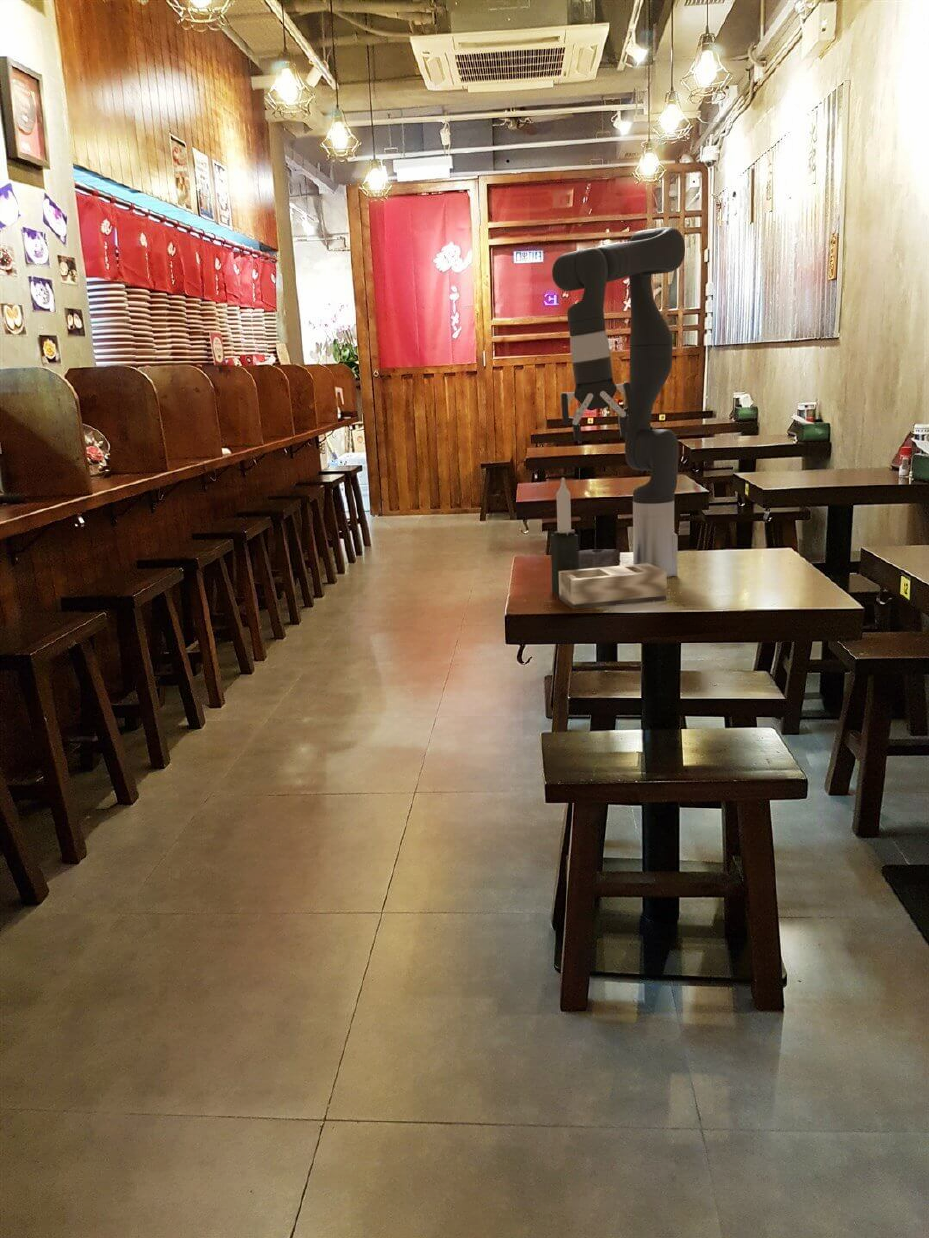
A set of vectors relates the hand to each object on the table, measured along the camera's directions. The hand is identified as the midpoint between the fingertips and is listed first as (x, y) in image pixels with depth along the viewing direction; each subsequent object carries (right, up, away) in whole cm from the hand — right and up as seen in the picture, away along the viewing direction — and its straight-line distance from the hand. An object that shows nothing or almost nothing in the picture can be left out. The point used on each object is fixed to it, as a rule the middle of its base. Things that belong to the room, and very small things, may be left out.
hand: (601, 439), depth 194 cm
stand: (+3, -32, +8) cm, 33 cm away
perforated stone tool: (+1, -27, +29) cm, 40 cm away
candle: (-6, -31, +16) cm, 35 cm away
